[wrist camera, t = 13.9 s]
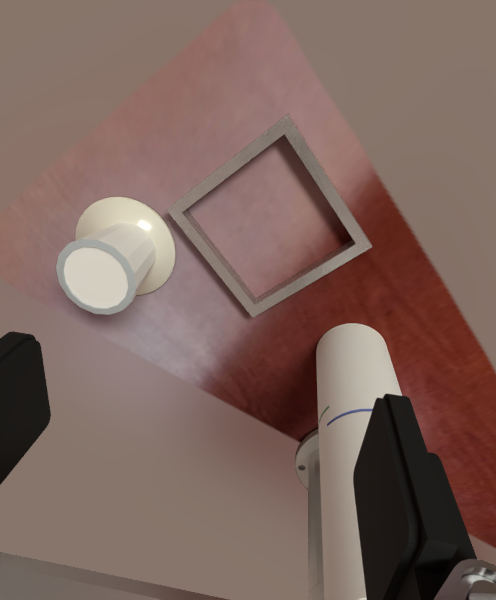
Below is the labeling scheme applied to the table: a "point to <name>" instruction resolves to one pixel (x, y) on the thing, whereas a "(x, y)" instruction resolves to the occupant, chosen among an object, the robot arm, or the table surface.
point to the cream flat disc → (143, 217)
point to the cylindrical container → (346, 443)
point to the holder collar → (304, 276)
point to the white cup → (106, 267)
